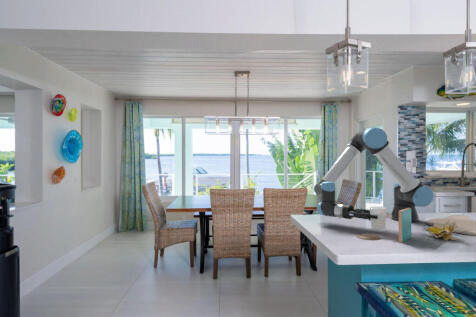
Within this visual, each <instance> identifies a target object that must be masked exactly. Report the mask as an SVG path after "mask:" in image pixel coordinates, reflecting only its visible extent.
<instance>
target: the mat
mask: <svg viewBox="0 0 476 317" xmlns="http://www.w3.org/2000/svg"><path fill="white" fill-rule="evenodd" d="M392 242H393V243H397V244H403V245H409V246H415V247H416V246H417V247H419V248H425V249H432V250H437V249H438V248H439V247H441V246H442V245H444V244H446V241H443V240H442V241H441V240H436V239H430V238H424V237H417V236H412V235H411V238H410V239H408V240H406V241H404V242H402V243H401V242H399V237H398V238H396V239H395V240H392Z"/></svg>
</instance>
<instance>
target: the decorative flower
mask: <svg viewBox="0 0 476 317" xmlns="http://www.w3.org/2000/svg"><path fill="white" fill-rule="evenodd" d="M459 229H460V227H459V226H458V222H457V221H451V220H447V221H446V222H444V224H442V223H438V222H437V223H433V225H432V226H429V227H428V228H422V230H423V231H425V232H428V233H429V234H431V235H434V236H435V238H442V239H443V240H444V241H449V239H450V240H452V241H456V240H457V238H456V237H454V236H453V233H454V232H456V231H458V230H459Z"/></svg>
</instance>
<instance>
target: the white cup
mask: <svg viewBox="0 0 476 317" xmlns="http://www.w3.org/2000/svg"><path fill="white" fill-rule="evenodd" d="M369 210H370V214H381V215H385V221H382V220H374V219H371V220H370V227H371V228H372V229H378V230H384V229H386V228H387V224H386V223H387V218H386V214H387V212H388V208H387V207H385V206H376V205H375V206H369Z"/></svg>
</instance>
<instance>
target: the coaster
mask: <svg viewBox="0 0 476 317" xmlns="http://www.w3.org/2000/svg"><path fill="white" fill-rule="evenodd" d="M355 236H356V237H355V238H357V239H361V240H364V241H379V240H381V239H382V237H381V236H379V235H376V234H372V233H359V234H355Z"/></svg>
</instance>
